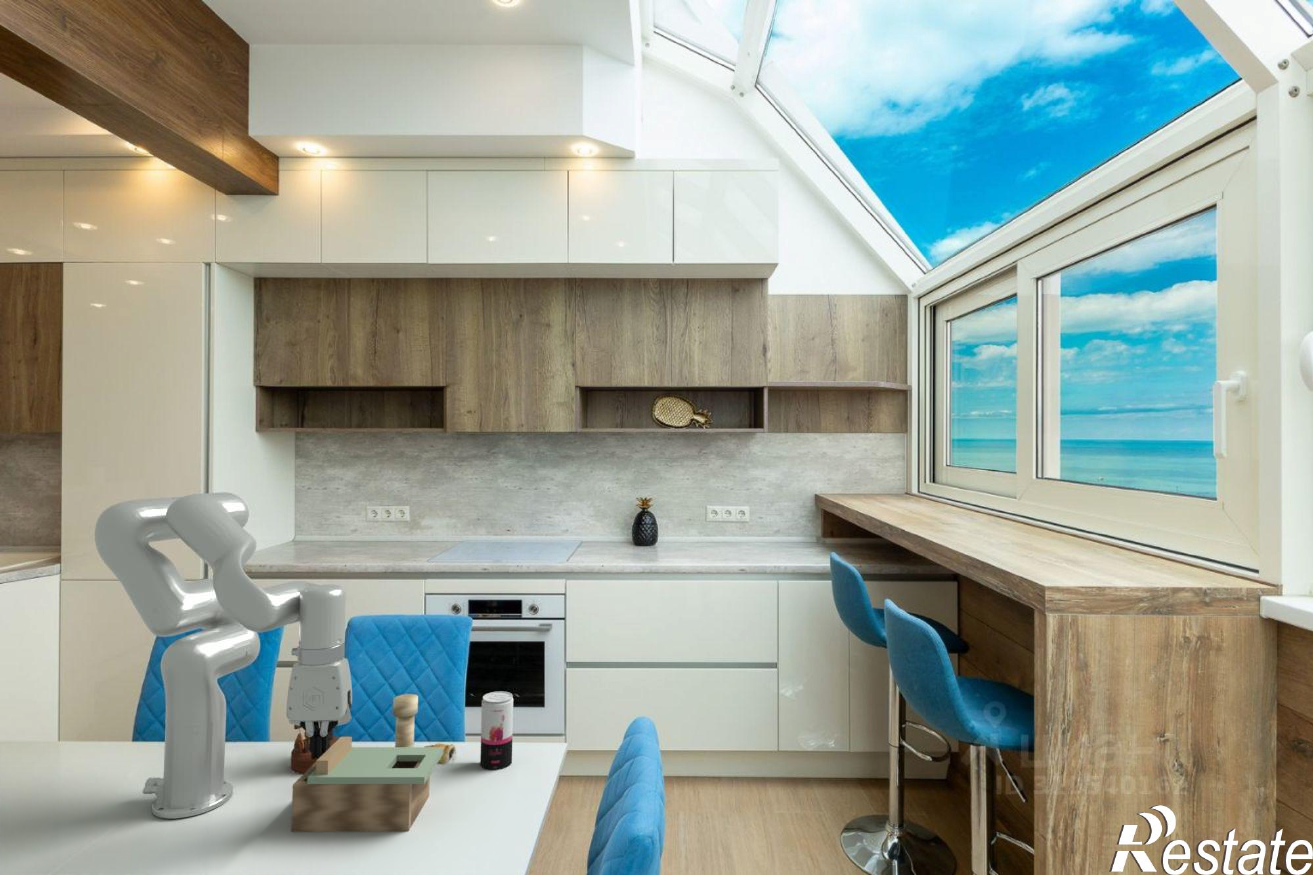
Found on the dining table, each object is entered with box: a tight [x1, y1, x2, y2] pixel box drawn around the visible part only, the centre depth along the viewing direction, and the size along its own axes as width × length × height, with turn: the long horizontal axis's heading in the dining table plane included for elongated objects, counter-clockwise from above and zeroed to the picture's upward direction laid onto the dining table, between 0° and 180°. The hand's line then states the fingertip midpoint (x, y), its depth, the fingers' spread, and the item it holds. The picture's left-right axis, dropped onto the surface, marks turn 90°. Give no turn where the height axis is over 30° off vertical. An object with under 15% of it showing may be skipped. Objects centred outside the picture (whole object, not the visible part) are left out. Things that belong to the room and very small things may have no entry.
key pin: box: [392, 693, 419, 747], centre depth 139 cm, size 5×5×16 cm
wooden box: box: [290, 761, 431, 833], centre depth 123 cm, size 20×12×9 cm, turn 92°
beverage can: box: [479, 690, 514, 771], centre depth 143 cm, size 6×6×15 cm
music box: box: [290, 721, 340, 775], centre depth 145 cm, size 15×11×20 cm
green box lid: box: [307, 736, 443, 784], centre depth 123 cm, size 20×12×4 cm, turn 92°
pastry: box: [424, 742, 457, 765], centre depth 146 cm, size 9×7×4 cm
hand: (319, 755), depth 122 cm, fingers closed
